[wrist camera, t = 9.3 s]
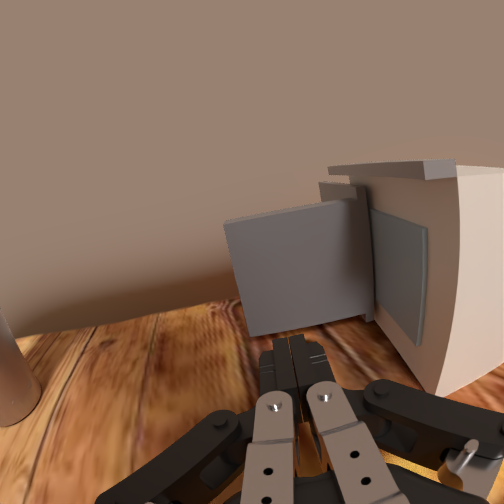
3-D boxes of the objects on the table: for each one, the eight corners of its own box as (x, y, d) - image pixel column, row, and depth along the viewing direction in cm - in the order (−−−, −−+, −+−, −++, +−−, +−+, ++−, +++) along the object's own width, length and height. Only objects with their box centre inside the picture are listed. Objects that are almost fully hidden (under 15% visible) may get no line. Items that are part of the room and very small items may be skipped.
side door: (252, 346, 24) (220, 211, 20) (253, 288, 36) (233, 197, 33) (373, 320, 23) (364, 186, 20) (336, 272, 35) (324, 181, 32)
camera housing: (407, 412, 13) (422, 160, 9) (339, 298, 30) (322, 167, 26) (506, 360, 12) (532, 158, 9) (412, 280, 30) (404, 157, 26)
